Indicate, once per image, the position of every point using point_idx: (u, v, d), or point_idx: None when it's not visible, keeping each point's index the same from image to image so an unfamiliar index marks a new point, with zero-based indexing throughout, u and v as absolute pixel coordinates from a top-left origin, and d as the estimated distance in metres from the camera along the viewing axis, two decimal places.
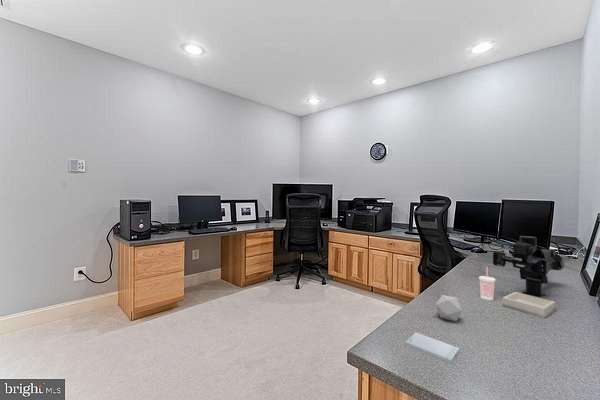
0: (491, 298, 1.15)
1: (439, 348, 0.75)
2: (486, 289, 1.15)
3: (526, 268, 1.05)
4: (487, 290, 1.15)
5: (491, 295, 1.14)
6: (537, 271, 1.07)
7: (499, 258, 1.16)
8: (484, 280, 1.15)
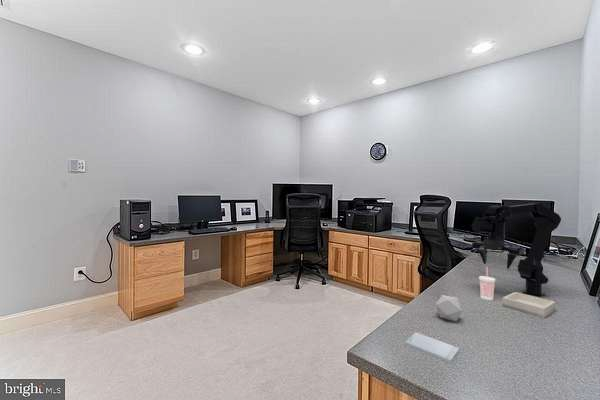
0: (491, 298, 1.15)
1: (439, 348, 0.75)
2: (486, 289, 1.15)
3: (509, 266, 1.17)
4: (487, 290, 1.15)
5: (491, 295, 1.14)
6: None
7: (481, 256, 1.25)
8: (484, 280, 1.15)
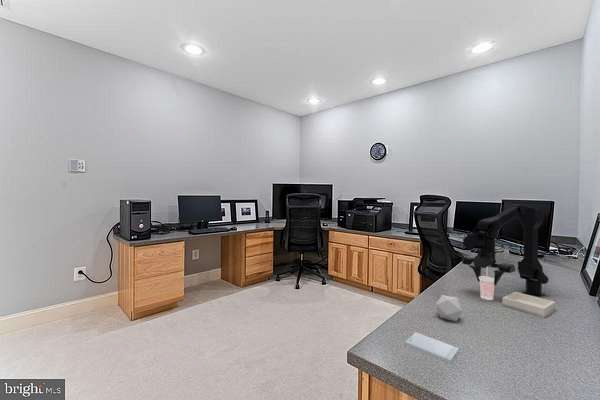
0: (491, 298, 1.15)
1: (439, 348, 0.75)
2: (486, 289, 1.15)
3: (496, 283, 1.14)
4: (487, 290, 1.15)
5: (491, 295, 1.14)
6: None
7: (475, 273, 1.19)
8: (484, 280, 1.15)
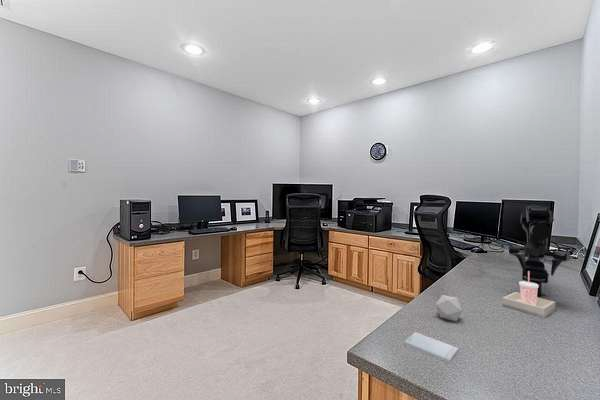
0: None
1: (438, 348, 0.75)
2: (528, 295, 1.04)
3: (553, 273, 1.07)
4: (530, 297, 1.04)
5: (534, 302, 1.04)
6: None
7: (520, 261, 1.15)
8: (526, 286, 1.04)
